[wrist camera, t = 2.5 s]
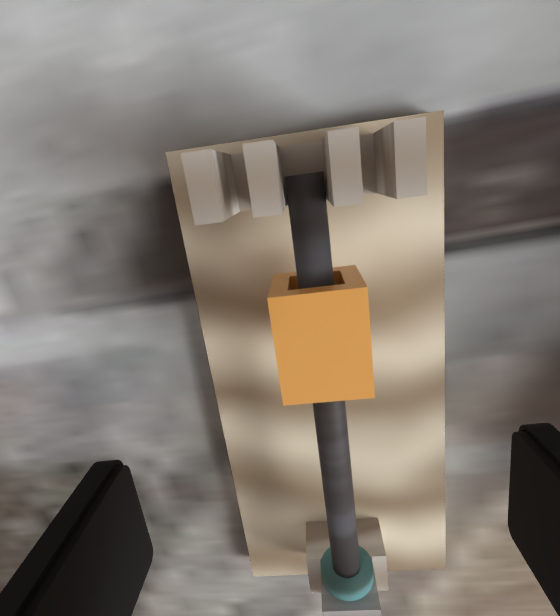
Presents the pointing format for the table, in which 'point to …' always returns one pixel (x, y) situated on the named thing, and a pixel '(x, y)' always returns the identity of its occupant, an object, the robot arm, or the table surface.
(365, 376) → the sleeve
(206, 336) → the cord board
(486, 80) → the table surface
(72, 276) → the table surface
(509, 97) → the table surface
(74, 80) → the table surface
